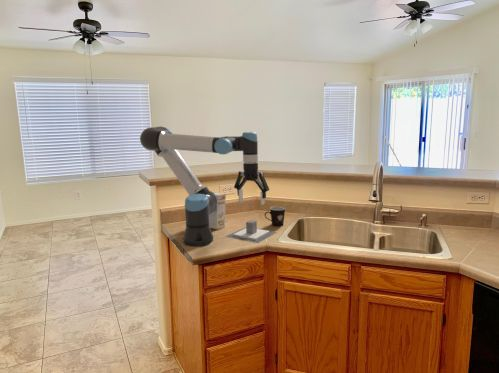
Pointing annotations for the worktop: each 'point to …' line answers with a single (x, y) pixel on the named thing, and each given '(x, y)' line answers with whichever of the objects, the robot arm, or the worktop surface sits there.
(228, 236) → the mat
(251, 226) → the lid
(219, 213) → the coffeecake box
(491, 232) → the worktop surface
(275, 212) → the coffee mug
